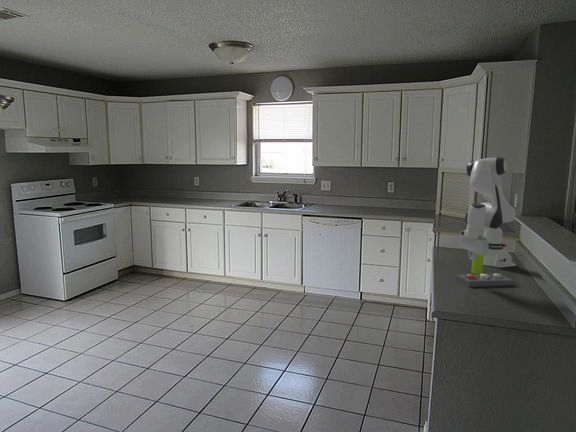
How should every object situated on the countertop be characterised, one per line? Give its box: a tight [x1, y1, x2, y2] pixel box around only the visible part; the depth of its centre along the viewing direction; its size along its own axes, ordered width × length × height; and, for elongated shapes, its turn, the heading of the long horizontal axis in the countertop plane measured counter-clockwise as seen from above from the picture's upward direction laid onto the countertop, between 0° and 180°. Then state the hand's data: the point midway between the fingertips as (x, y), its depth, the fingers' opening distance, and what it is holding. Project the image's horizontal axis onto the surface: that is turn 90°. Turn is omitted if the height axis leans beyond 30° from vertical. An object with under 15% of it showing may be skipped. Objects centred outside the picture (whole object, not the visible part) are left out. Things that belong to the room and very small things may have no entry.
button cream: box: [480, 273, 489, 279], centre depth 223 cm, size 4×4×3 cm
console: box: [455, 273, 514, 288], centre depth 223 cm, size 26×12×3 cm, turn 101°
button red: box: [466, 273, 475, 279], centre depth 221 cm, size 4×4×3 cm
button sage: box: [492, 272, 503, 279], centre depth 224 cm, size 4×4×3 cm
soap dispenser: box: [470, 254, 484, 274], centre depth 241 cm, size 6×7×20 cm
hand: (472, 259), depth 220 cm, fingers closed
